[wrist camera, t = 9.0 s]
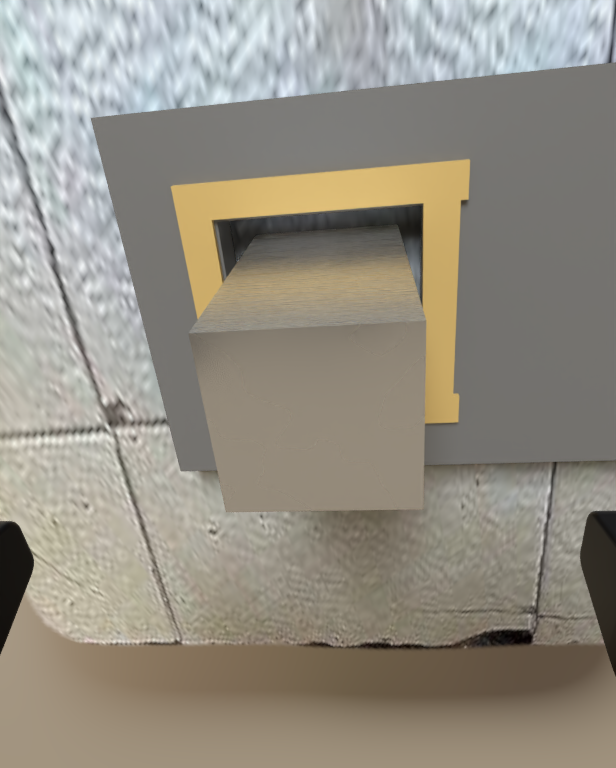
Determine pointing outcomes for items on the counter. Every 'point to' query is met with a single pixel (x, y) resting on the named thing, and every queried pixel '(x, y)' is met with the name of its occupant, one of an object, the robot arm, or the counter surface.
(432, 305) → the rail
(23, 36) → the counter surface
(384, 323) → the peg
